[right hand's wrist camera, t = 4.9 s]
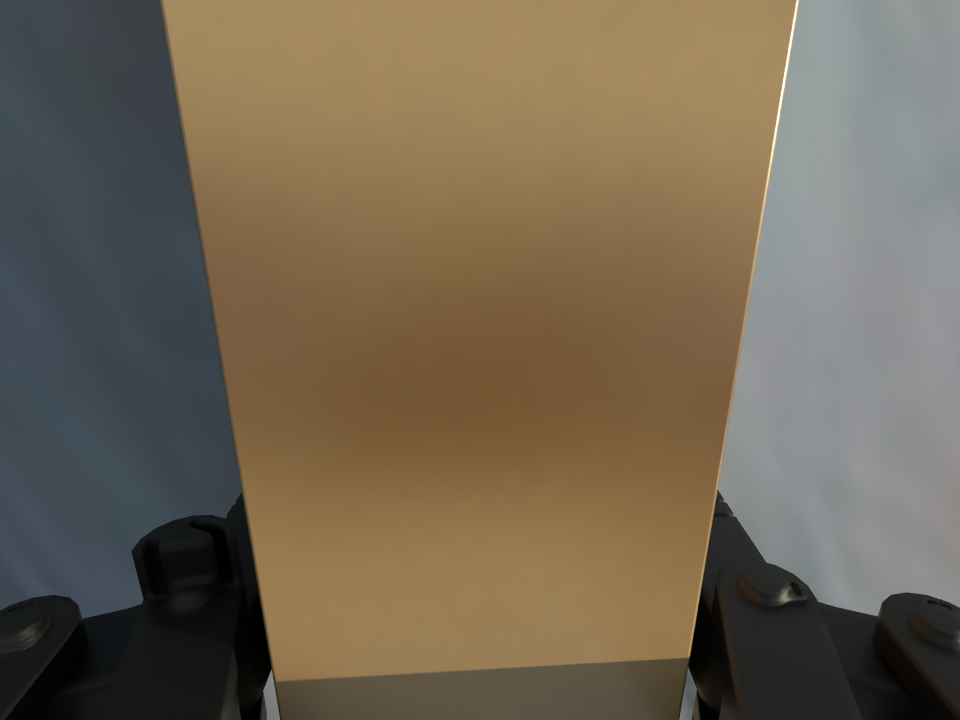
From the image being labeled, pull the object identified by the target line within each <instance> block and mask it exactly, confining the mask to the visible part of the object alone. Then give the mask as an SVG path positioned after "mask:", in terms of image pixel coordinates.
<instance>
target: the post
mask: <svg viewBox="0 0 960 720" xmlns="http://www.w3.org/2000/svg"><path fill="white" fill-rule="evenodd" d="M160 4H161V10H162V16H163V22H164V28H165V33H166V39H167V45H168V51H169V57H170V63H171V69H172V75H173V81H174V87H175V93H176V99H177V105H178V111H179V117H180V123H181V129H182V135H183V141H184V147H185V153H186V159H187V165H188V171H189V177H190V183H191V189H192V195H193V201H194V207H195V213H196V219H197V225H198V231H199V237H200V243H201V249H202V255H203V261H204V266H205V272H206V278H207V284H208V290H209V296H210V302H211V308H212V314H213V320H214V326H215V332H216V338H217V344H218V350H219V356H220V362H221V368H222V374H223V380H224V386H225V392H226V398H227V404H228V410H229V416H230V422H231V428H232V434H233V440H234V446H235V452H236V458H237V464H238V470H239V476H240V482H241V488H242V494H243V500H244V505H245V511H246V517H247V523H248V529H249V535H250V541H251V547H252V553H253V559H254V565H255V571H256V577H257V583H258V589H259V595H260V601H261V607H262V613H263V619H264V625H265V631H266V637H267V643H268V649H269V655H270V661H271V667H272V673H273V679H274V685H275V691H276V697H277V703H278V709H279V715H280V720H679V717H680V711H681V705H682V699H683V693H684V687H685V681H686V675H687V669H688V663H689V657H690V651H691V645H692V639H693V633H694V627H695V621H696V616H697V610H698V604H699V598H700V592H701V586H702V580H703V574H704V568H705V562H706V556H707V550H708V544H709V538H710V532H711V526H712V520H713V514H714V508H715V502H716V496H717V490H718V484H719V478H720V472H721V466H722V460H723V454H724V448H725V442H726V436H727V430H728V424H729V418H730V412H731V406H732V400H733V394H734V388H735V382H736V376H737V370H738V364H739V358H740V352H741V346H742V340H743V334H744V328H745V322H746V316H747V310H748V304H749V298H750V292H751V286H752V280H753V274H754V268H755V262H756V256H757V250H758V244H759V238H760V232H761V226H762V220H763V214H764V208H765V203H766V197H767V191H768V185H769V179H770V173H771V167H772V161H773V155H774V149H775V143H776V137H777V131H778V125H779V119H780V113H781V107H782V101H783V95H784V89H785V83H786V77H787V71H788V65H789V59H790V53H791V47H792V41H793V35H794V29H795V23H796V17H797V11H798V5H799V0H160Z"/></svg>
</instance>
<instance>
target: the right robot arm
mask: <svg viewBox="0 0 960 720" xmlns="http://www.w3.org/2000/svg"><path fill="white" fill-rule="evenodd" d="M131 552H132V555H133V559H134V563H135V567H136V571H137V575H138V579H139V583H140V587H141V591H142V594H143V598H144V600H143V603H142V604H141V605H138V606H135V607H131V608H128V609H124V610H120V611H115V612H111V613H106V614H102V615H98V616H93V617H89V618H84V619H82V616H81V613H80V610H79V607H78V605H77V604H76V603H75V602H74V601H73V600H72V599H70V598H69V597H63V596H56V595H50V596H43V597H35V598H31V599H28V600H25V601H22V602H19V603H16V604H13V605H10V606H8V607H6V608H5V609H3V610H1V611H0V720H266V718H267V711H266V705H265V699H264V693H263V690H264V687H265V684H266V682H267V679H268V677H269V674H270V672H271V669H272V667H271V661H270V655H269V649H268V643H267V637H266V631H265V625H264V619H263V613H262V607H261V601H260V595H259V589H258V583H257V577H256V571H255V565H254V559H253V553H252V547H251V541H250V535H249V529H248V523H247V517H246V511H245V505H244V500H243V494H242V493H241V495H240V496H239V498H238V499H237V501H236V505H233V507H232V508H231V510H230V511H229V513H228V514H227V518H226V519H225V518H221V517H217V516H213V515H199V516H190V517H186V518H182V519H177V520H174V521H171V522H169V523H167V524H165V525H162V526H160V527H158V528H156V529H154V530H153V531H151V532H150V533H149V534H147V535H146V536H144V537H143V538H142V539H140V541H139V542H138V543H137V545H136V546H135V547H134V549H133V550H132V551H131ZM688 667H689V670H690V672H691V675H692V677H693V680H694V682H695V685H696V688H697V693H696V699H695V704H694V710H693V715H692V720H960V608H959V607H957V606H955V605H953V604H951V603H949V602H946V601H943V600H941V599H937V598H934V597H931V596H928V595H922V594H914V593H901V594H894V595H891V596H889V597H888V598H887V599H886V600H885V601H883V602H882V605H881V608H880V611H879V615H878V616H873V615H869V614H864V613H860V612H855V611H851V610H847V609H842V608H838V607H834V606H830V605H827V604H823V603H820V602H817V599H816V597H815V596H814V594H813V593H812V591H811V590H810V588H809V587H808V586H807V585H806V584H805V583H804V582H803V581H801V580H800V579H799V578H798V577H796V576H795V575H794V574H792V573H790V572H788V571H786V570H784V569H782V568H780V567H778V566H776V565H773V564H769V563H766V561H765V560H764V558H763V557H762V555H761V554H760V552H759V551H758V549H757V548H756V546H755V545H754V543H753V542H752V541H751V539H750V538H749V536H748V535H747V533H746V532H745V530H744V529H743V527H742V526H741V524H740V523H739V521H738V520H737V518H736V517H734V516H733V512H732V511H731V509H730V508H729V506H728V505H727V503H724V499H723V497H722V496H721V494H720V493H719V491H718V490H717V496H716V502H715V508H714V514H713V520H712V526H711V532H710V538H709V544H708V550H707V556H706V562H705V568H704V574H703V580H702V586H701V592H700V598H699V604H698V610H697V616H696V621H695V627H694V633H693V639H692V645H691V651H690V657H689V663H688Z"/></svg>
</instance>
